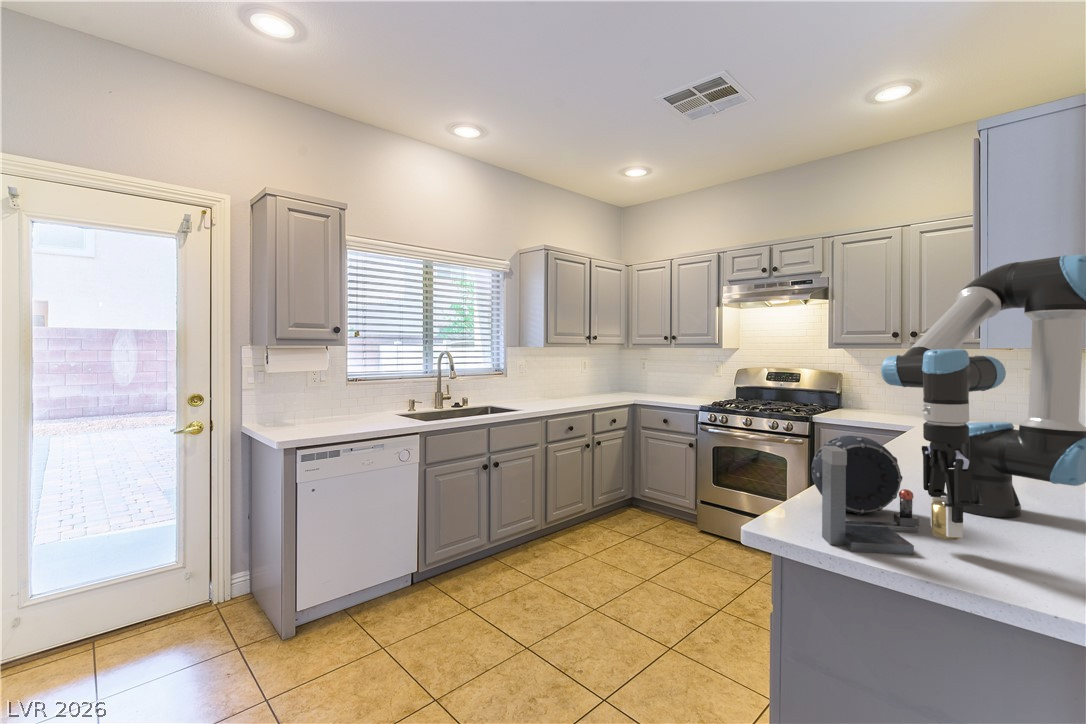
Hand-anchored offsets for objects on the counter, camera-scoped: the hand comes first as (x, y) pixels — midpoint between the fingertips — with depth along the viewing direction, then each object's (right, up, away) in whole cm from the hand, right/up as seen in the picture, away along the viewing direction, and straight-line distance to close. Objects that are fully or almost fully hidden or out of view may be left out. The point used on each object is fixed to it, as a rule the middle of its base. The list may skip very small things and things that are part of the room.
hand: (946, 531), depth 106 cm
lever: (+1, -2, +13) cm, 13 cm away
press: (-10, -4, +7) cm, 13 cm away
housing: (0, -1, 0) cm, 1 cm away
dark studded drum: (-3, -4, +27) cm, 27 cm away
